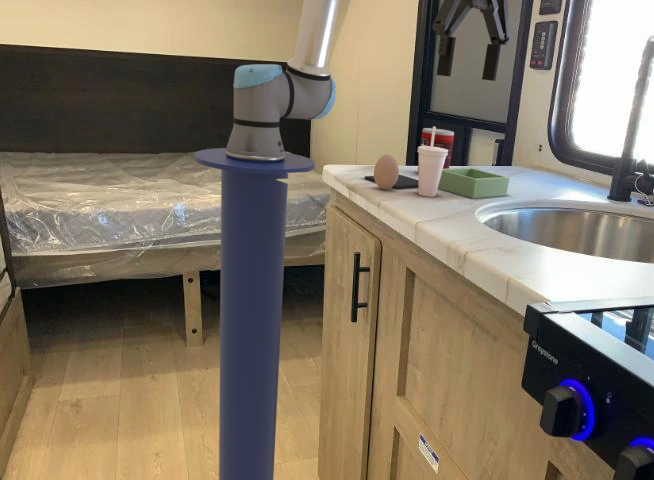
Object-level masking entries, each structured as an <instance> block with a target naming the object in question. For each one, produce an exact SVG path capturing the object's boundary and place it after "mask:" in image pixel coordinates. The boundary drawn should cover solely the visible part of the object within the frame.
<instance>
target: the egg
mask: <svg viewBox="0 0 654 480" xmlns="http://www.w3.org/2000/svg"><path fill="white" fill-rule="evenodd" d="M398 175H400V172H399V164H398V162H397V160H396V158H395V157H394V156H393V155H392V154H388V153H387V154H384V155H382V156H380V157H379V158H378V160H377V161H376V163H375V165H374V169H373V176H374V180H375V182H374V183H375V184H376V185H377V186H378V188H380V189H382V190H389V189H391V188H392V187H393V186H394V184H395V183H396V182H397V179H398Z"/></svg>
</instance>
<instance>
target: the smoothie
mask: <svg viewBox="0 0 654 480" xmlns="http://www.w3.org/2000/svg"><path fill="white" fill-rule="evenodd" d="M432 128H433V131H432V138H431V146H421V145H420V146H418V147H417V151H416V152H417V153H418V163H419V173H418V179H417V180H418V187H417V188H418V189H417V191H418V195H420V196H423V197H433V198H434V197H436V196H437V192H438V189H439V188H438V185H439V181H440V177H441V173H442V170H443V166H444V162H445V158H446V156H447V155H448V150H447V149H444V148H438V147H433V143H434V136H435V129H437V127H436V126H432Z"/></svg>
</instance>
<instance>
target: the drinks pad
mask: <svg viewBox="0 0 654 480" xmlns="http://www.w3.org/2000/svg"><path fill="white" fill-rule="evenodd" d="M364 179H365V180H367V181H370V182H373V183H376V182H375V180H374V175H365V176H364ZM418 180H419V179H416V178H413V177H409V176H407V175H402V174H399V175H398V179H397V182H396V183H395V184H394V186H393V187H391V188H392V189H396V190H399V189H400V190H403V189H415V188H416V189H417V188H418Z"/></svg>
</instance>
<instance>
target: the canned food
mask: <svg viewBox="0 0 654 480" xmlns="http://www.w3.org/2000/svg"><path fill="white" fill-rule="evenodd" d="M432 131H433V127H430V128H429V127H425V128H422V132H421V139H420V146H431V138H432ZM454 137H455V132H454V131H453V130H448V129H442V128H436V129H435V136H434V143H433V147H438V148H444V149H447V150H448V155H447V156H446V158H445V162H444V166H443V169H450V164H451V158H452V153H453V152H452V151H453V147H454V146H453V145H454ZM417 173H418V174H419V162H418V164H417Z"/></svg>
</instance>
